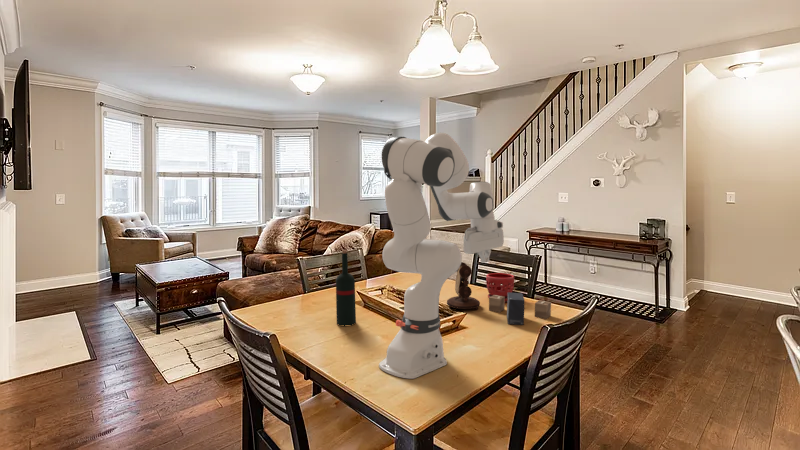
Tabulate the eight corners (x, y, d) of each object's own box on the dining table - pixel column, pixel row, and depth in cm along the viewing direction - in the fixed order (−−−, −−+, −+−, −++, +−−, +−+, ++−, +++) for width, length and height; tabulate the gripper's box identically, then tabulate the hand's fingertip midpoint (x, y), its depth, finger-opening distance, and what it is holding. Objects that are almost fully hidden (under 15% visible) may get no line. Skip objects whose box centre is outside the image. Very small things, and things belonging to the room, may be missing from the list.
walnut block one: (546, 319, 171) (547, 304, 170) (534, 316, 174) (535, 302, 174) (550, 316, 175) (551, 301, 174) (538, 313, 178) (539, 299, 177)
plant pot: (519, 300, 197) (520, 275, 196) (499, 305, 191) (499, 279, 189) (500, 294, 208) (500, 270, 207) (480, 298, 202) (480, 274, 200)
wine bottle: (358, 317, 174) (356, 247, 171) (354, 326, 164) (352, 251, 161) (339, 317, 175) (337, 247, 171) (334, 326, 165) (332, 251, 161)
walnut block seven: (499, 312, 180) (499, 298, 179) (488, 310, 183) (489, 296, 182) (504, 309, 184) (504, 296, 183) (493, 307, 187) (494, 294, 186)
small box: (524, 325, 164) (525, 299, 163) (507, 324, 165) (508, 299, 164) (522, 316, 174) (522, 292, 173) (506, 316, 175) (506, 291, 174)
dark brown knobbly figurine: (443, 302, 195) (444, 261, 192) (474, 301, 196) (475, 260, 194) (450, 312, 180) (451, 267, 178) (483, 311, 181) (484, 266, 179)
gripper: (471, 228, 145) (474, 267, 146) (505, 222, 158) (507, 258, 159) (458, 228, 150) (460, 266, 151) (492, 222, 163) (494, 257, 164)
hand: (485, 262), depth 155 cm, fingers closed
